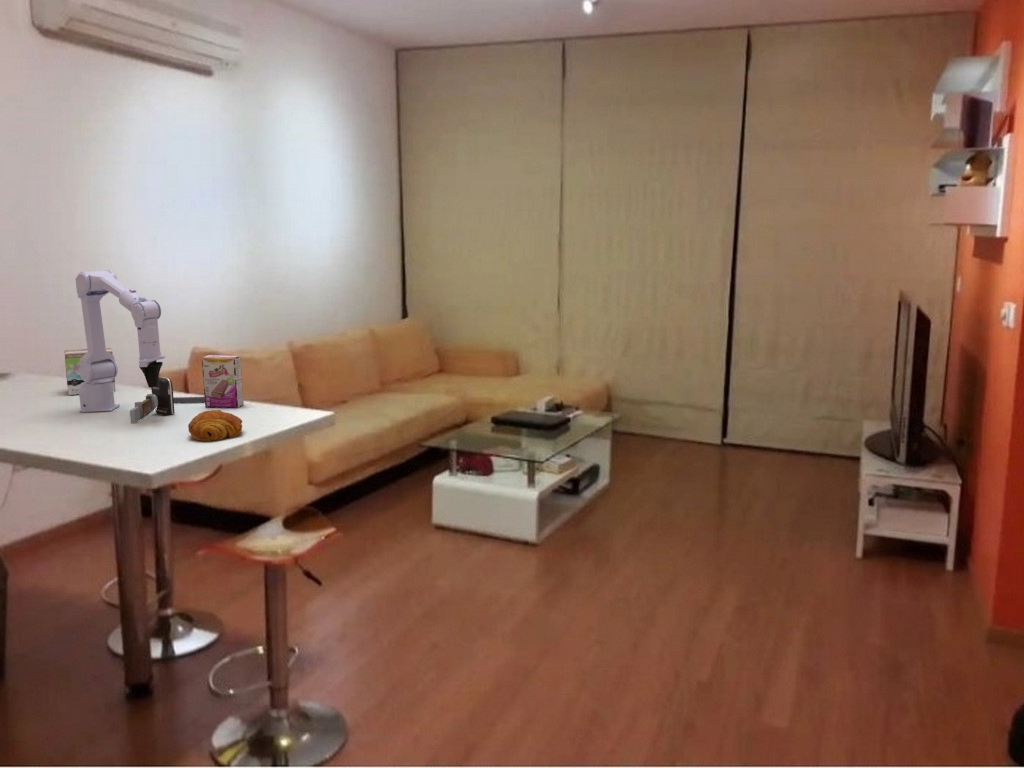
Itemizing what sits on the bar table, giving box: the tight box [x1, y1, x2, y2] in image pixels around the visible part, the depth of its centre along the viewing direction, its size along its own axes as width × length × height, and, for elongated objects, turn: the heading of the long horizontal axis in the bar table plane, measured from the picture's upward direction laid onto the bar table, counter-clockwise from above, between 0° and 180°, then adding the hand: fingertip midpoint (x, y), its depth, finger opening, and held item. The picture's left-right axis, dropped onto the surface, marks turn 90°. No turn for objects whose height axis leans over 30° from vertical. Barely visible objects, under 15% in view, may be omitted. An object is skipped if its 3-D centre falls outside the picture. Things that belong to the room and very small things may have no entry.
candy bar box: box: [201, 354, 245, 409], centre depth 274 cm, size 11×5×16 cm, turn 84°
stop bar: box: [173, 396, 205, 404], centre depth 281 cm, size 16×2×2 cm, turn 96°
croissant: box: [187, 409, 243, 442], centre depth 239 cm, size 14×16×8 cm
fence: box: [129, 393, 158, 424], centre depth 265 cm, size 2×25×5 cm, turn 6°
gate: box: [141, 395, 153, 417], centre depth 265 cm, size 2×9×4 cm, turn 6°
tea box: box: [64, 347, 116, 396], centre depth 299 cm, size 15×10×15 cm
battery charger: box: [150, 376, 175, 416], centre depth 264 cm, size 7×4×11 cm, turn 52°
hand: (153, 386), depth 256 cm, fingers closed
